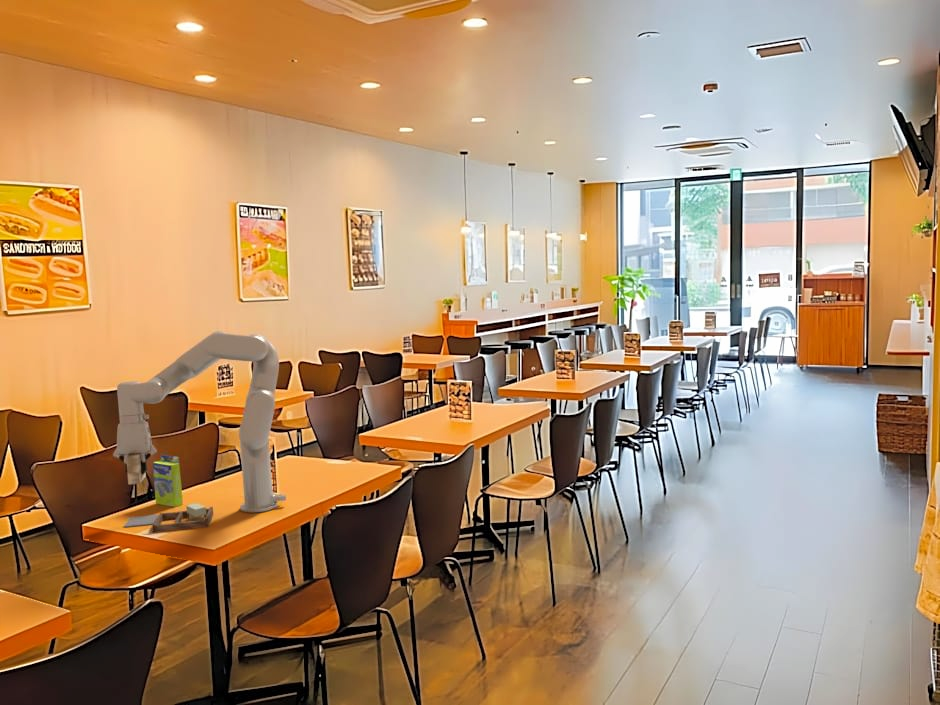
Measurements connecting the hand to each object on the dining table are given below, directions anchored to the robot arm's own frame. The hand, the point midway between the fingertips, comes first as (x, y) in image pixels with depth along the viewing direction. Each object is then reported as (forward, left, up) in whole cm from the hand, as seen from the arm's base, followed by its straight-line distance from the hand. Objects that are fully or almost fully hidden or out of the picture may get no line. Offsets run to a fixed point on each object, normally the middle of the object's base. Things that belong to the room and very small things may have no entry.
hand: (136, 473), depth 262 cm
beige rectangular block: (0, 0, -2) cm, 2 cm away
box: (-6, -19, -17) cm, 26 cm away
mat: (0, 0, -16) cm, 16 cm away
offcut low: (-19, +6, -17) cm, 26 cm away
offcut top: (-19, +6, -14) cm, 24 cm away
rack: (-15, +6, -16) cm, 23 cm away
